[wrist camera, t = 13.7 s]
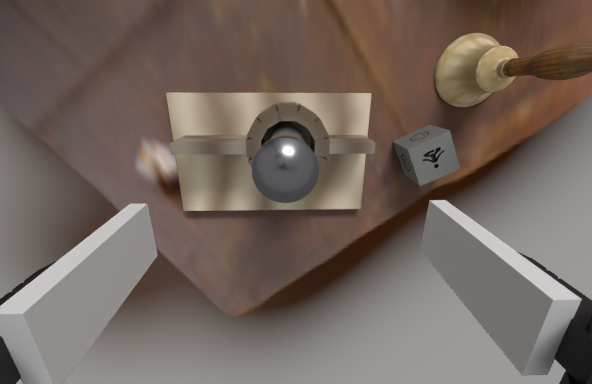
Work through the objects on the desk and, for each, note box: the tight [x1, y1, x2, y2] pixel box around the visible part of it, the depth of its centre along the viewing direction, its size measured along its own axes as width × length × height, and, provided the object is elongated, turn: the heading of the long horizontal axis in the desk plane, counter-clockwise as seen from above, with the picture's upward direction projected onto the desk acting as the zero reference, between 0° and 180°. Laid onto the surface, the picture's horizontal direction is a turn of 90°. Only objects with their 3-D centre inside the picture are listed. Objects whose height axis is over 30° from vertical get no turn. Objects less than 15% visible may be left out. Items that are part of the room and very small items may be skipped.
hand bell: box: [435, 33, 592, 107], centre depth 27 cm, size 8×8×16 cm
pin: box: [252, 124, 319, 203], centre depth 28 cm, size 5×5×15 cm
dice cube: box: [393, 125, 460, 186], centre depth 36 cm, size 5×5×5 cm
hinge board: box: [166, 93, 375, 211], centre depth 34 cm, size 24×15×6 cm, turn 90°
